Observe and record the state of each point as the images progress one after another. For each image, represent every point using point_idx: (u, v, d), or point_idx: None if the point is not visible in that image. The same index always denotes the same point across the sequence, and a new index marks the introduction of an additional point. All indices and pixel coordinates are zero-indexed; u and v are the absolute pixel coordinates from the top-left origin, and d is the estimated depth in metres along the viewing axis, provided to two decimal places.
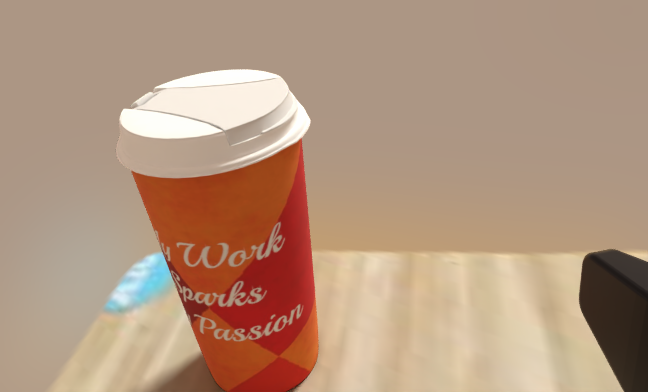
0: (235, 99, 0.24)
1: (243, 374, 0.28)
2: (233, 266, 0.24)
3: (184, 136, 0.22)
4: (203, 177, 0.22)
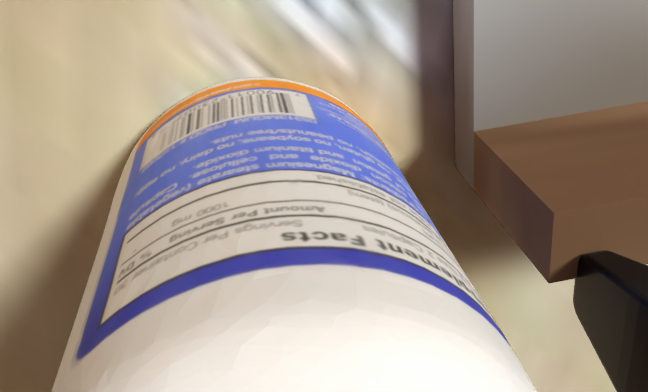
0: None
1: None
2: None
3: None
4: None
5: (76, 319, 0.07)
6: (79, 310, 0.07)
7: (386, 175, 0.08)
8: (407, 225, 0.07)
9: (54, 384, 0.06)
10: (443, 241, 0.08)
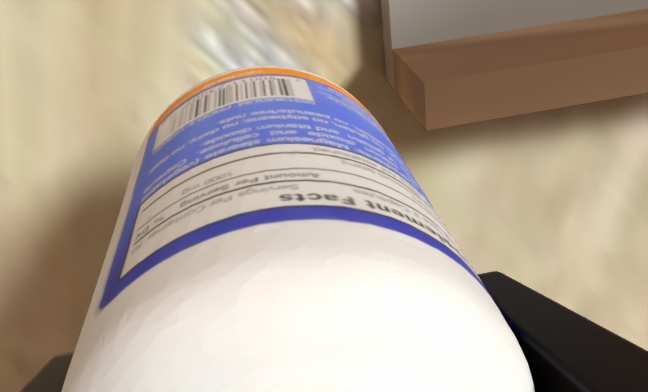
0: None
1: None
2: None
3: None
4: None
5: (97, 282, 0.08)
6: (100, 274, 0.08)
7: (379, 150, 0.09)
8: (397, 190, 0.08)
9: (79, 336, 0.07)
10: (432, 208, 0.09)
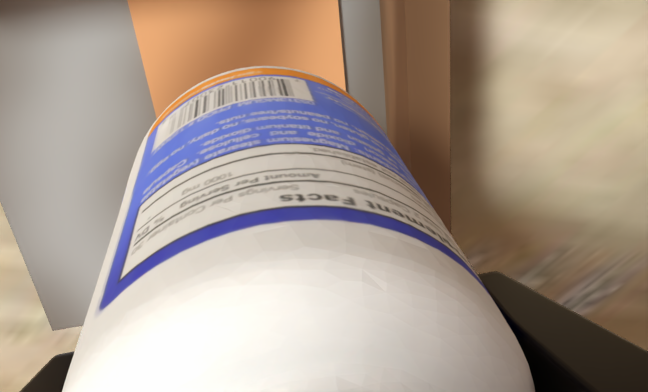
0: None
1: None
2: None
3: None
4: None
5: (97, 283, 0.08)
6: (99, 275, 0.08)
7: (379, 150, 0.09)
8: (396, 191, 0.08)
9: (79, 337, 0.07)
10: (432, 208, 0.09)
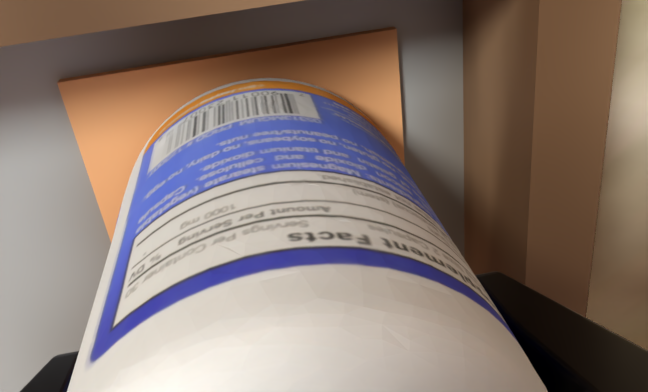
0: None
1: None
2: None
3: None
4: None
5: (89, 322, 0.07)
6: (91, 313, 0.07)
7: (391, 173, 0.08)
8: (412, 222, 0.07)
9: (69, 386, 0.06)
10: (449, 237, 0.08)
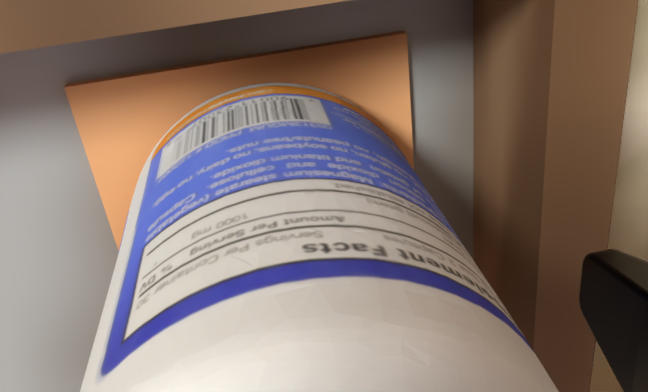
0: None
1: None
2: None
3: None
4: None
5: (98, 332, 0.07)
6: (100, 323, 0.07)
7: (403, 181, 0.08)
8: (427, 231, 0.07)
9: None
10: (463, 246, 0.08)
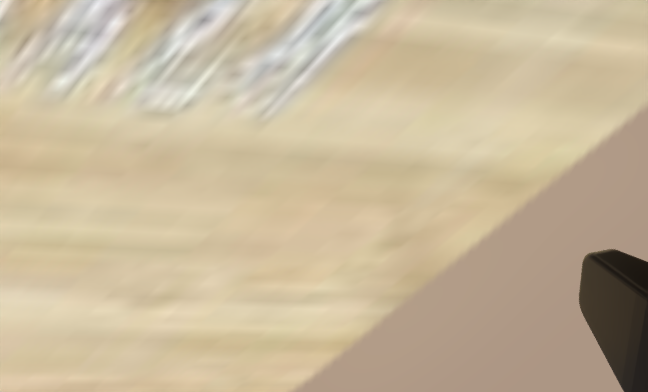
0: None
1: None
2: None
3: None
4: None
5: None
6: None
7: None
8: None
9: None
10: None
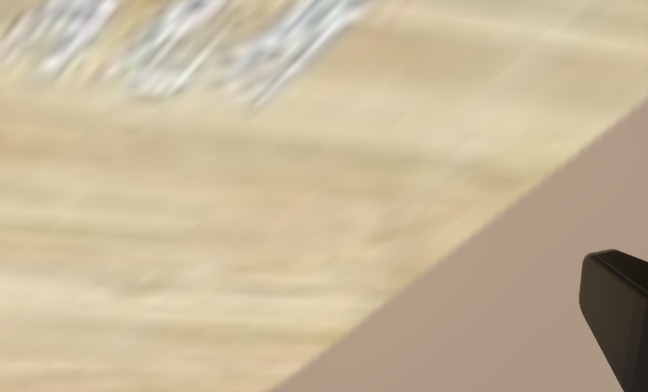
0: None
1: None
2: None
3: None
4: None
5: None
6: None
7: None
8: None
9: None
10: None
